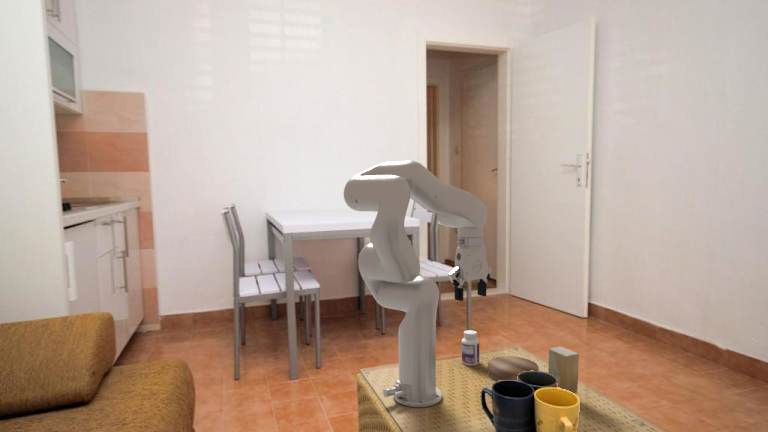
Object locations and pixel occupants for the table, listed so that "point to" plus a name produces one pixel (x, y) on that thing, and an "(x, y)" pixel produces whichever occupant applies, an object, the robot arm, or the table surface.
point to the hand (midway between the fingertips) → (470, 297)
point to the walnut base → (509, 367)
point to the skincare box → (564, 368)
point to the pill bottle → (470, 348)
